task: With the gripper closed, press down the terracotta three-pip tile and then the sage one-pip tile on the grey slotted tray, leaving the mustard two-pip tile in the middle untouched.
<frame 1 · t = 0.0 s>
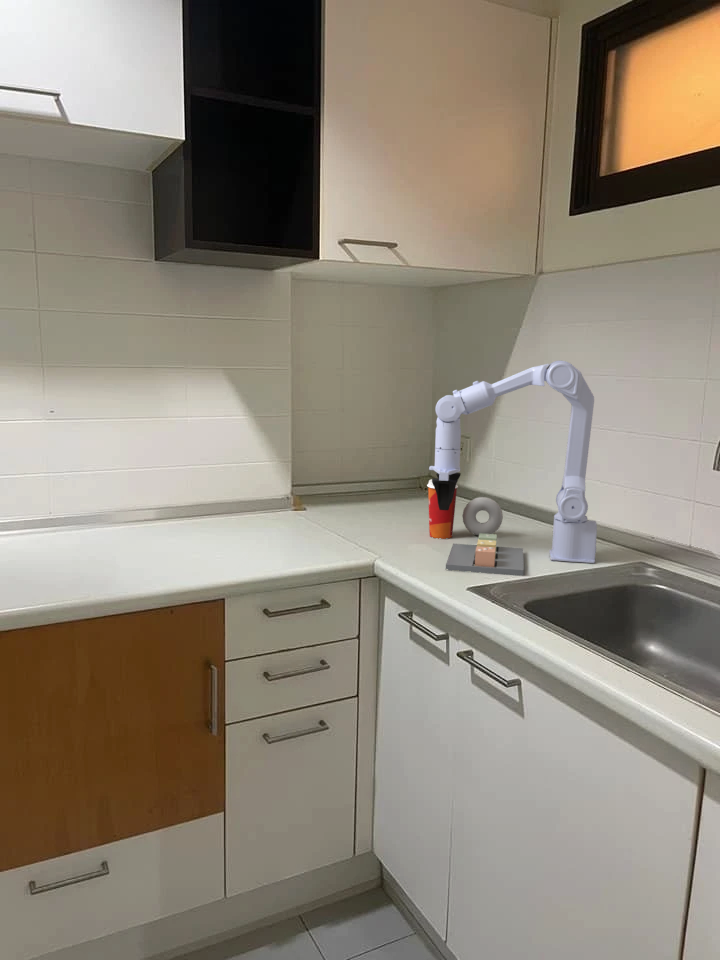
hand: (445, 506, 172), 10 cm above the table, tool pointing down, fingers open, 7 cm apart
tile two pips: (486, 549, 164), point 3 cm above the table, slide at 0.0 cm
tile three pips: (485, 556, 158), point 3 cm above the table, slide at 0.0 cm
tile one pip: (487, 542, 170), point 3 cm above the table, slide at 0.0 cm
donut: (481, 536, 187), on the table
grey slotted tray: (485, 561, 164), on the table
paper cup: (440, 537, 186), on the table
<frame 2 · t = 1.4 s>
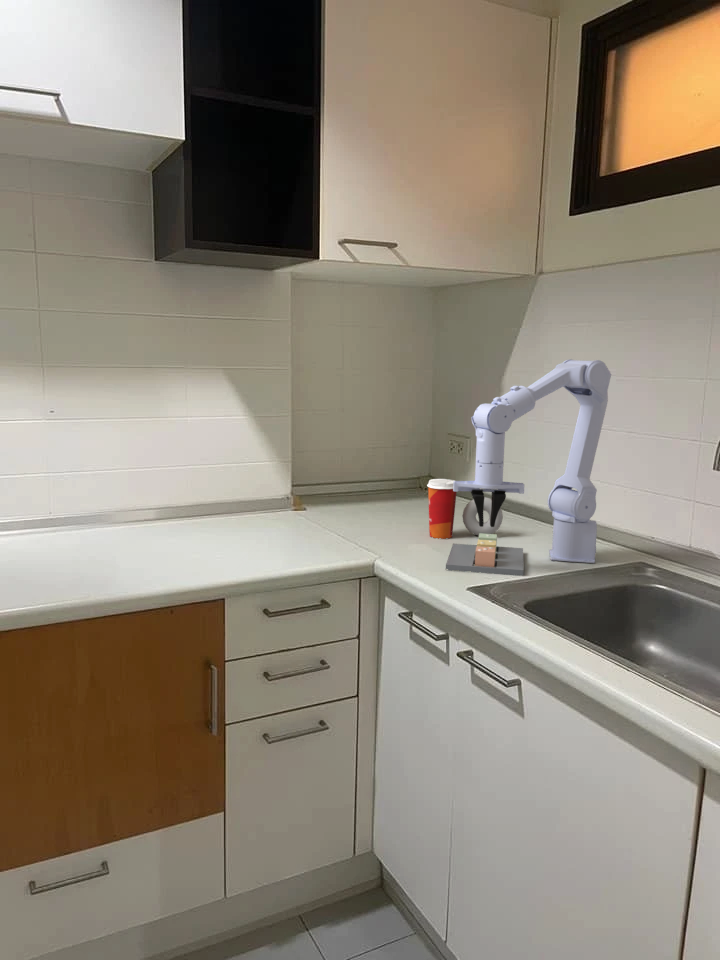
hand: (486, 525, 157), 9 cm above the table, tool pointing down, fingers closed
nothing on the table moved.
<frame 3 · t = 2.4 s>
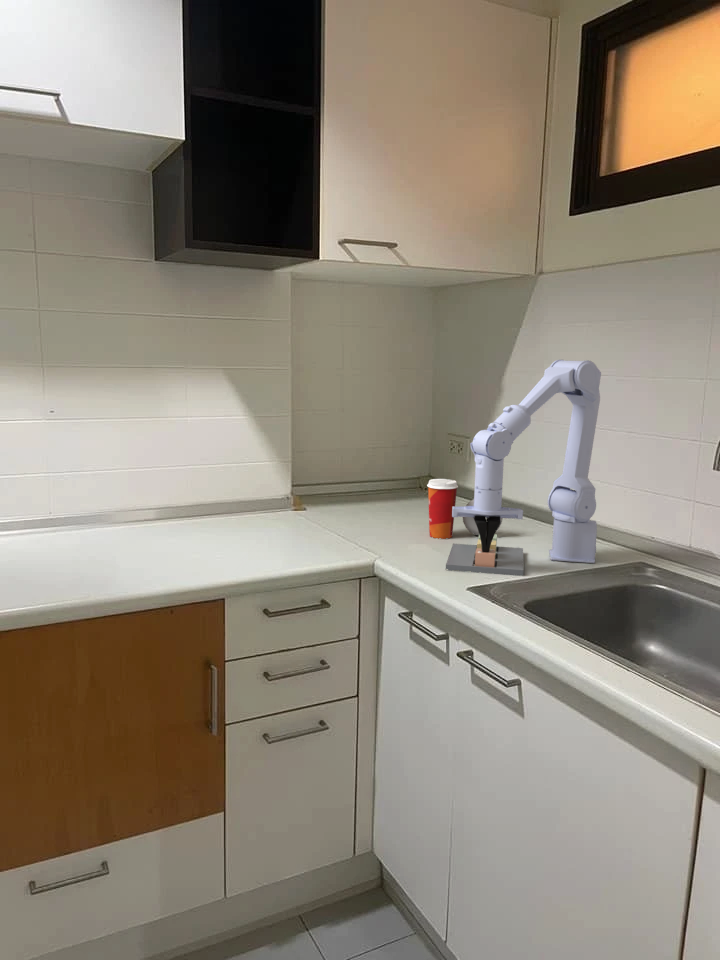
hand: (485, 551, 158), 4 cm above the table, tool pointing down, fingers closed, pressing on tile three pips
tile three pips: (485, 558, 158), point 2 cm above the table, slide at 0.4 cm, touching gripper
everything else where it was.
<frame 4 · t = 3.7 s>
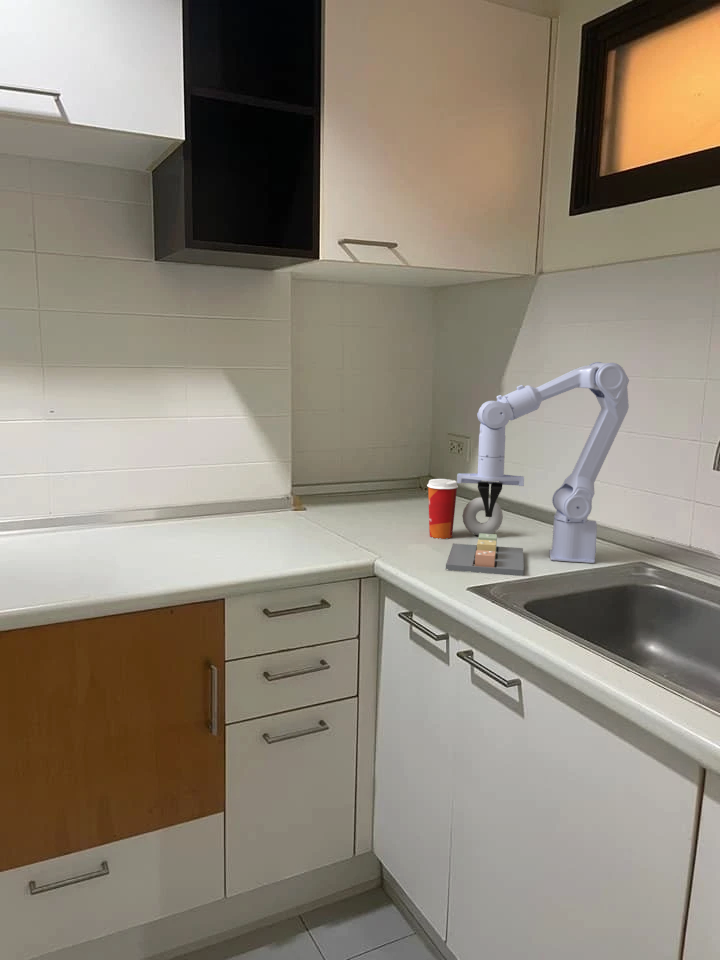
hand: (488, 516, 167), 9 cm above the table, tool pointing down, fingers closed
tile three pips: (485, 560, 158), point 2 cm above the table, slide at 0.8 cm
everything else where it was.
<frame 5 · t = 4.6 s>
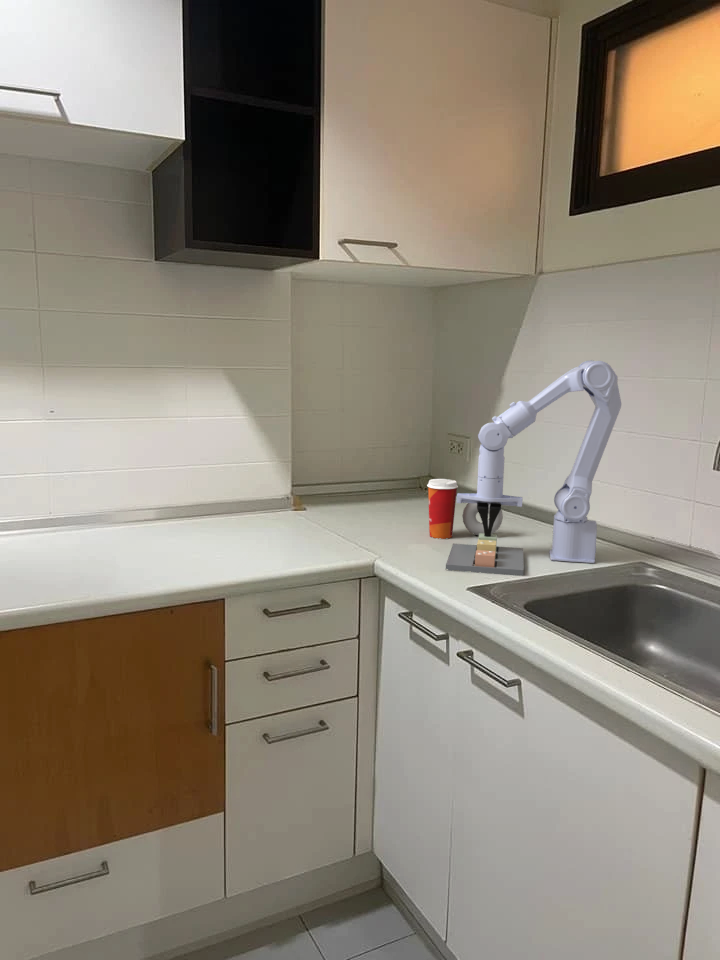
hand: (487, 535, 169), 4 cm above the table, tool pointing down, fingers closed, pressing on tile one pip
tile one pip: (487, 542, 170), point 3 cm above the table, slide at 0.0 cm, touching gripper
everything else where it was.
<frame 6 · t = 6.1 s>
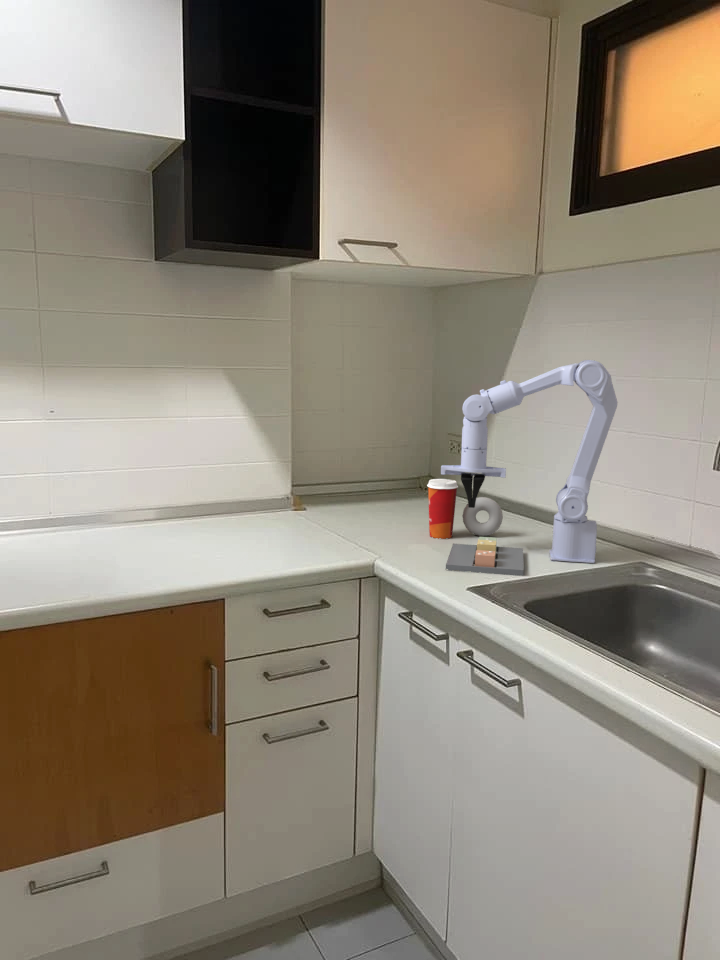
hand: (471, 506, 171), 10 cm above the table, tool pointing down, fingers closed
tile one pip: (487, 545, 170), point 2 cm above the table, slide at 0.8 cm
everything else where it was.
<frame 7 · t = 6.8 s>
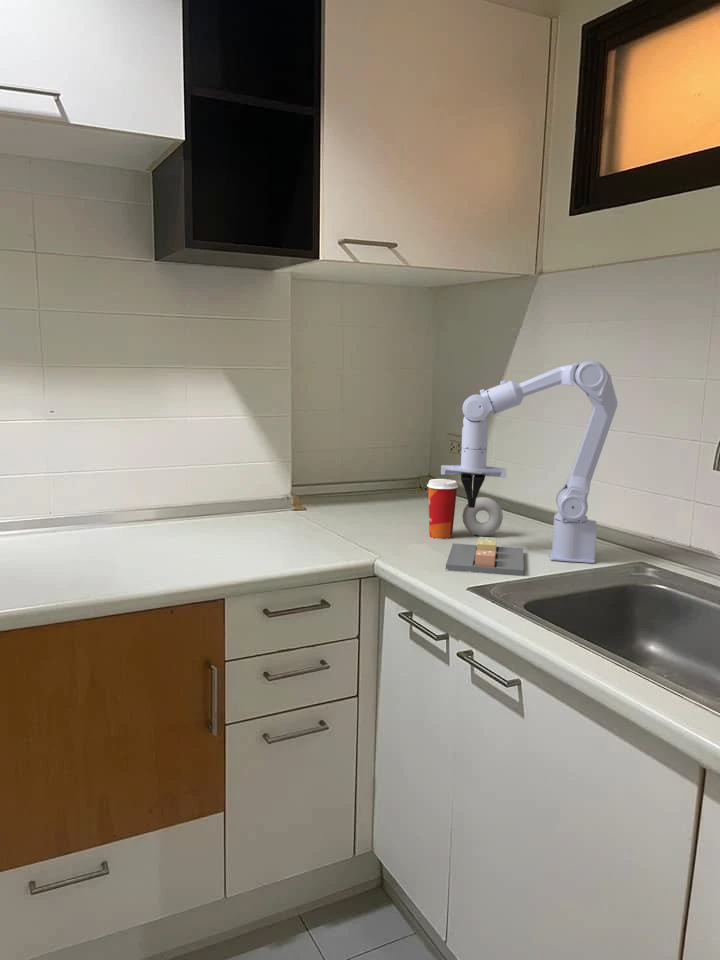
hand: (471, 506, 171), 10 cm above the table, tool pointing down, fingers closed
nothing on the table moved.
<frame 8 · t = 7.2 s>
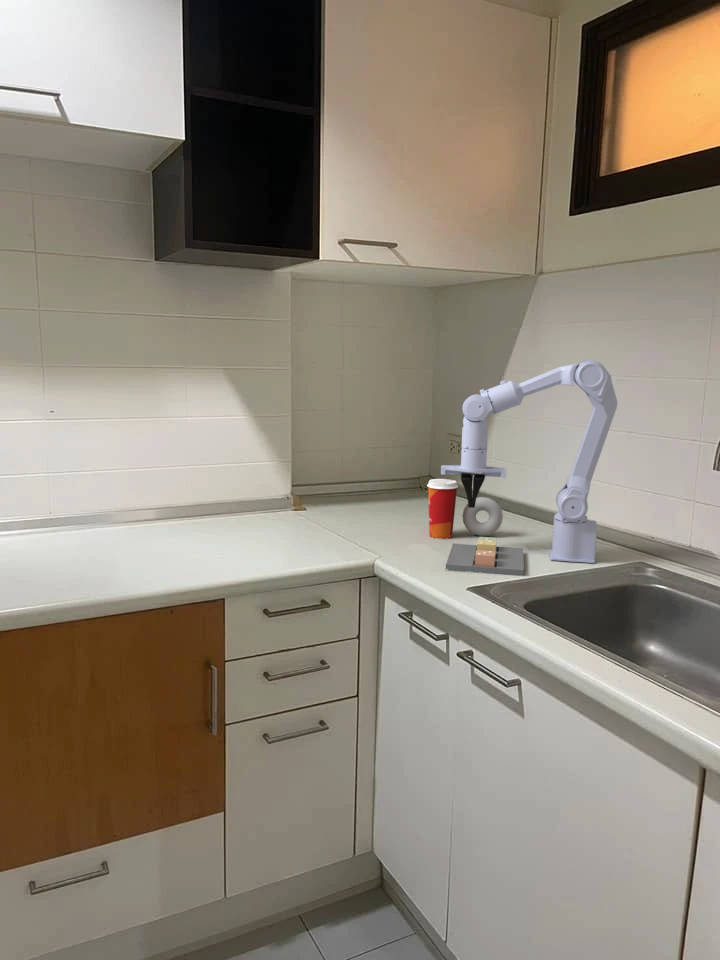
hand: (471, 506, 171), 10 cm above the table, tool pointing down, fingers closed
nothing on the table moved.
at the end: tile three pips slide at 0.8 cm; tile one pip slide at 0.8 cm; tile two pips slide at 0.0 cm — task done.
